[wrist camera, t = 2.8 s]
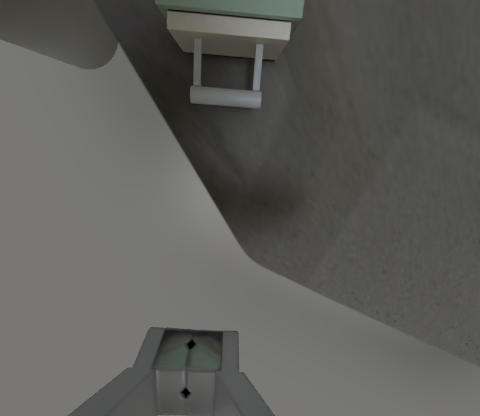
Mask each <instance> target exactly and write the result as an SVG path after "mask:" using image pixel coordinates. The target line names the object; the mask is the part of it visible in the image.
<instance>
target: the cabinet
mask: <svg viewBox="0 0 480 416" xmlns="http://www.w3.org/2000/svg"><path fill="white" fill-rule="evenodd" d="M304 1H305V0H155V4H156V6H157V7H158V9H159V10H160V12H161V13H162V15H163V16H164V18H165V19H166V21H167V10H169V11H179V12H185V11H195V12H205V13H216V14H226V15H236V16H247V17H257V18H267V19H278V21H283V22H291V31H290V36H291V35H292V33H293V32H294V30H295V29H296V27H297V26H298V24H299V23H300V21H301V19H302V17H303V9H304ZM184 10H185V11H184Z"/></svg>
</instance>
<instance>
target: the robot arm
mask: <svg viewBox="0 0 480 416" xmlns="http://www.w3.org/2000/svg"><path fill="white" fill-rule="evenodd" d="M238 344H239V343H238V331H215V330H214V331H213V330H191V329H177V328H158V327H151V328H150V329H149V330H148V332H147V335H146V337H145V339H144V342H143V344H142V347H141V349H140V351H139V354H138V356H137V358H136V361H135V363H134V365H133V368H127V369H126V370H124V371H123V372H122V373H120V374H119V375H118V376H117V377H116V378H114V379H113V380H112V381H111V382H109V383H108V384H107V385H106V386H104V387H103V388H102V389H100V390H99V391H98V392H97V393H95V394H94V395H93V396H92V397H90V398H89V399H88V400H87V401H85V402H84V403H83V404H82V405H80V406H79V407H78V408H77V409H75V411H73V412H72V413H71V414H69V415H68V416H157V415H186V416H275V415H274V414H273V412H272V411H271V410H270V408H269V407H268V406H267V404H266V403H265V401H264V400H263V399H262V397H261V396H260V394H259V393H258V392H257V390H256V389H255V388H254V386H253V385H252V383H251V382H250V381H249V379H248V378H247V377H246V375H245V374H244V373H243V372H239V346H238Z"/></svg>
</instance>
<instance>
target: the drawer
mask: <svg viewBox="0 0 480 416" xmlns="http://www.w3.org/2000/svg"><path fill="white" fill-rule="evenodd" d="M184 11H185V10H184ZM167 29H168V31H169V32H170V34H171V35H172V36H173V38H174V39H175V41H176V42H177V43H178V45H179V46H180V48H181V49H182V50H183V52H191V53H194V73H193V85H194V86H191V88H190V101H191V103H195V104H207V105H219V106H231V107H243V108H255V109H260V107H261V99H262V92H261V91H259V90H260V80H261V69H262V59H269V60H277V58H278V57H279V55H280V54H281V52H282V51H283V49H284V48H285V46H286V44H287V43H288V41H289V40H290V31H291V22H283V21H278V19H267V18H257V17H247V16H236V15H226V14H216V13H205V12H195V11H185V12H179V11H169V10H167ZM202 54H213V55H224V56H235V57H246V58H255V62H254V74H253V86H252V91H250V90H238V89H227V88H215V87H203V86H201V72H202Z"/></svg>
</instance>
